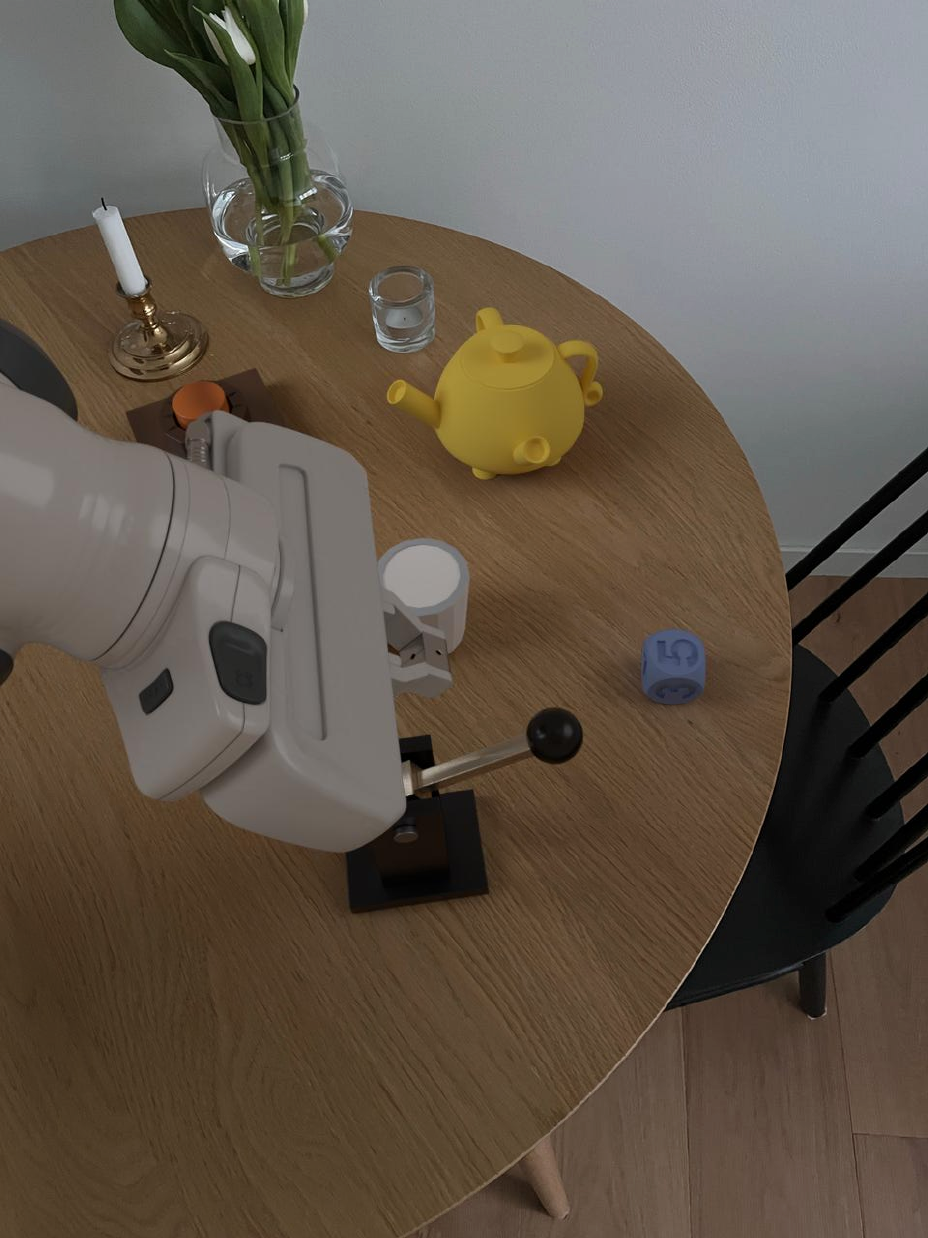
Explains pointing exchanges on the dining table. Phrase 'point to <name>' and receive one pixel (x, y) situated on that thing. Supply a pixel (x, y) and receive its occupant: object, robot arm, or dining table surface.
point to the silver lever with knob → (502, 753)
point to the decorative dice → (673, 666)
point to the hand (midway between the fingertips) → (441, 666)
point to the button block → (165, 432)
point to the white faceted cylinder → (429, 584)
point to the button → (198, 401)
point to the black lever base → (420, 849)
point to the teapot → (506, 398)
